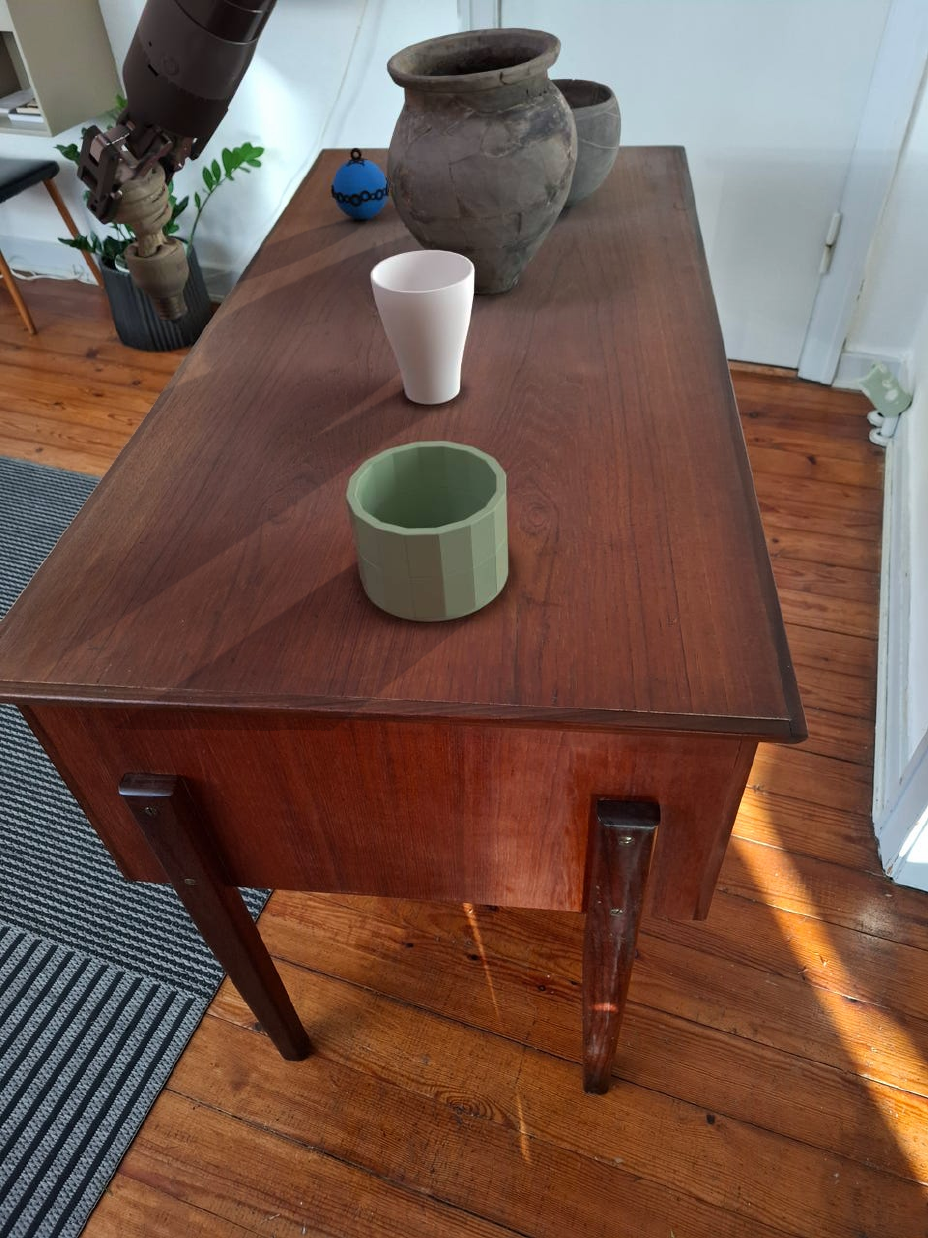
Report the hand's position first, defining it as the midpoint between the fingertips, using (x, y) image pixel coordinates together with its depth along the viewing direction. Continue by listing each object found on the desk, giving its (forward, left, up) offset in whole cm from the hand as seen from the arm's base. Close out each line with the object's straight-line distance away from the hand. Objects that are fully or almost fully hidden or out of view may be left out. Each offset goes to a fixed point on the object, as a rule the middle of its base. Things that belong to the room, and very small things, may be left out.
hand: (124, 202), depth 77 cm
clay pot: (+42, +23, -24) cm, 54 cm away
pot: (+16, -30, -24) cm, 42 cm away
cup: (+26, -1, -24) cm, 36 cm away
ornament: (+34, +54, -24) cm, 68 cm away
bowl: (+62, +46, -24) cm, 81 cm away
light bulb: (+1, -1, -11) cm, 11 cm away
